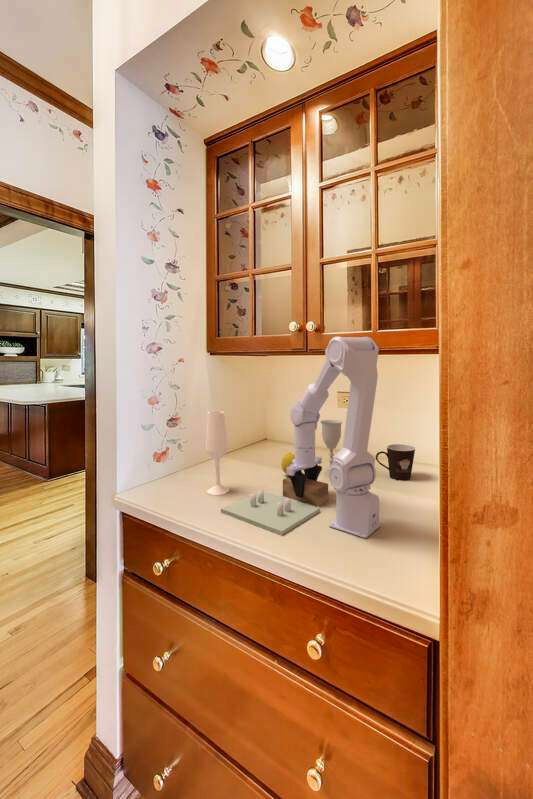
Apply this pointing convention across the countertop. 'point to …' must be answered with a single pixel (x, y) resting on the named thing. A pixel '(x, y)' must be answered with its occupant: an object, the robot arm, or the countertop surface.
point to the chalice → (331, 437)
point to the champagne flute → (216, 445)
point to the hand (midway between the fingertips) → (305, 493)
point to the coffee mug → (399, 461)
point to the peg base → (271, 511)
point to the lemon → (287, 461)
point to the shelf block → (307, 492)
